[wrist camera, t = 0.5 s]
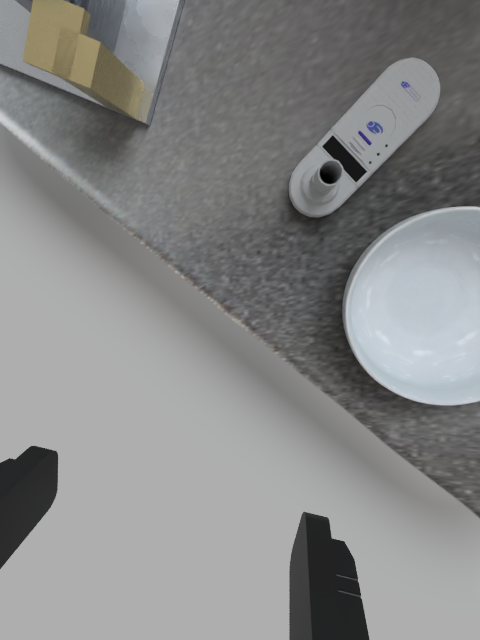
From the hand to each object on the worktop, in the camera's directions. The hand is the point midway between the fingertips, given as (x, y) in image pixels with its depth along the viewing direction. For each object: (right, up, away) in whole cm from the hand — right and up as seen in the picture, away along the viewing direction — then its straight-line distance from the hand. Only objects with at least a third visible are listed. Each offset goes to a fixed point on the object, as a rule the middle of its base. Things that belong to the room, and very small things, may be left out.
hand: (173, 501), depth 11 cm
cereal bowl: (+20, +8, +25) cm, 33 cm away
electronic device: (+13, +22, +22) cm, 33 cm away
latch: (-9, +28, +22) cm, 36 cm away
